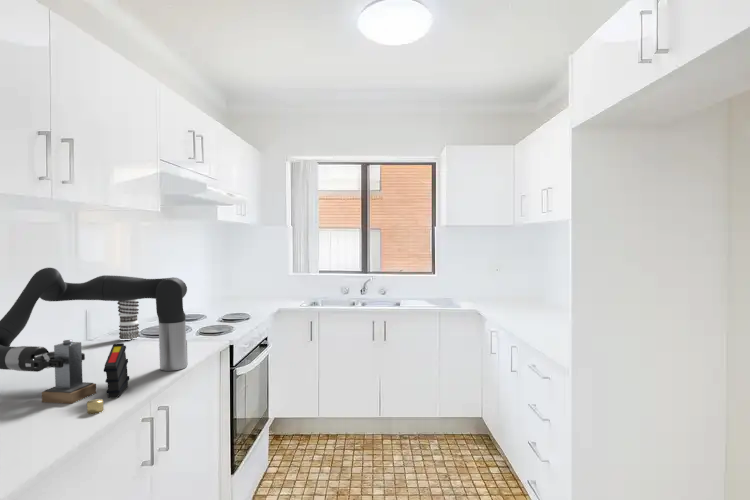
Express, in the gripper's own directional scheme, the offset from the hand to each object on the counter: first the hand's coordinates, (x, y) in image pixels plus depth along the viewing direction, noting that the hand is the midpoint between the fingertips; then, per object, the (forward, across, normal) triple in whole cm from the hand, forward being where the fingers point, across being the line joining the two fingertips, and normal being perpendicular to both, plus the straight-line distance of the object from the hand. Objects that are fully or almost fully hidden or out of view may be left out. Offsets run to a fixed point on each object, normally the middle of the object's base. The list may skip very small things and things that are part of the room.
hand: (73, 360), depth 154 cm
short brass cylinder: (+15, +10, -12) cm, 22 cm away
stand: (-2, 0, -12) cm, 12 cm away
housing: (-2, 0, -8) cm, 8 cm away
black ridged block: (+10, -6, -12) cm, 17 cm away
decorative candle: (-42, -82, -12) cm, 93 cm away
